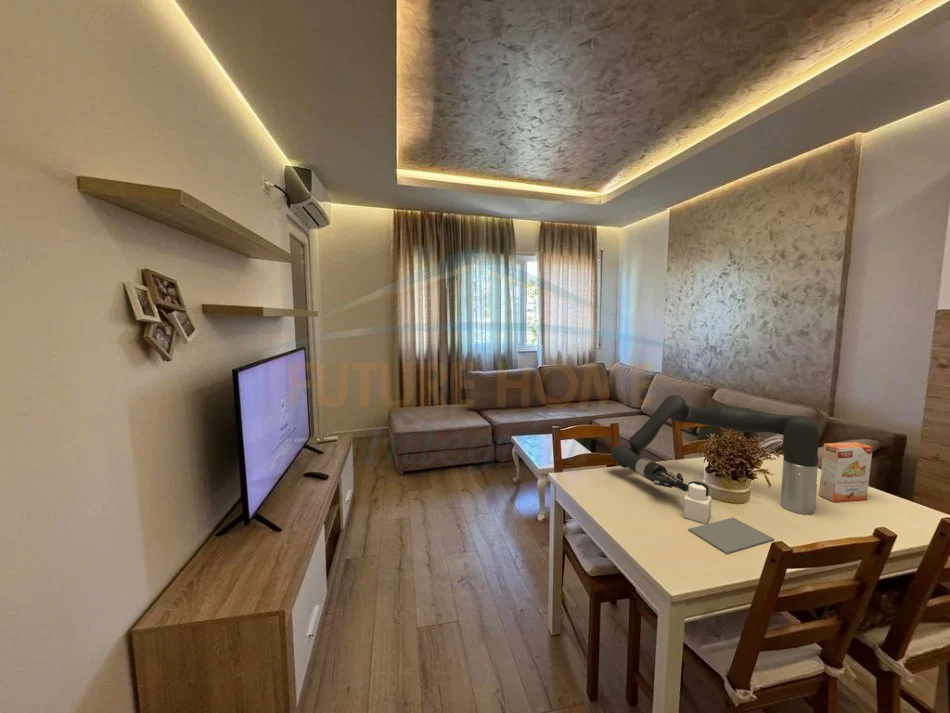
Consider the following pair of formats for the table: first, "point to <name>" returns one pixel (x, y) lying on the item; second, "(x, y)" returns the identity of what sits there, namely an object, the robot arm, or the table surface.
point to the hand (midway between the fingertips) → (687, 488)
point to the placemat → (730, 535)
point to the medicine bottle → (697, 502)
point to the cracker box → (845, 471)
